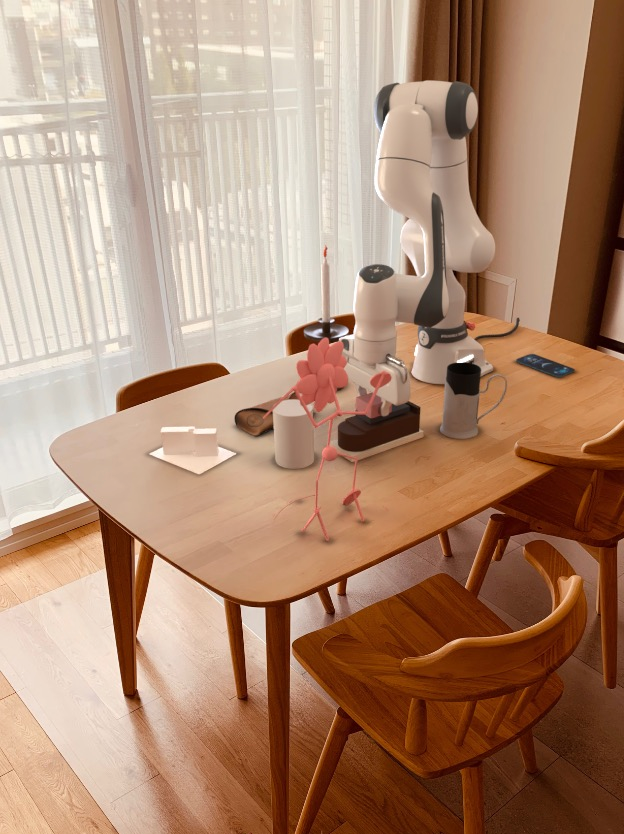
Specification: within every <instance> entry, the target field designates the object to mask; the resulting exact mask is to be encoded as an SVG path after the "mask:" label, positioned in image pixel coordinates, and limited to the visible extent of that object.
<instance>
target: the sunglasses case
mask: <svg viewBox="0 0 624 834" xmlns="http://www.w3.org/2000/svg"><path fill="white" fill-rule="evenodd" d="M282 397H283V396H280V397H277V398H274V399H271V400H268V401H265V402H262V403H259V404H257V405H254V406H251V407H247V408H242V409H240V410H238V411H237V412H236V413H235V414H234V423H235V426H236V428H239V429H240V430H241V431H243V432H244V433H247V434H249V435H252V436H256V437H257V436H260V435H261V434H264V433H266V432H268V431H273V430H274V424H273V410H272V411H271V412H270V413H269V414H268V415H267V416H266V417H265V418H264V419H263V416H264V415H265V414H266V413H267V412H268V411H269V410H270V409H271V408H272V407H273V406H274V405H275V404H276V403H277V402H278V401H279V400H280V399H281V398H282ZM292 399H295V400H299V399H298V397H297V395H296V393H295V392H294V391H293V392H291V393H290V394H289V395H288V396H287V397H286V398H285V399H284V400H292ZM284 400H283V401H284ZM315 414H316V411H313V415H315Z"/></svg>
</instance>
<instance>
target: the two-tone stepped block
mask: <svg viewBox="0 0 624 834" xmlns="http://www.w3.org/2000/svg"><path fill="white" fill-rule="evenodd" d="M372 395H373V393H372V392H369V393H368V392H367V394H365V395H362V396H359V395H358V396H356V397H355V410H354V411H357V412H365V410H366V408H367V406H368V404H369V401H370V399H371V397H372ZM382 404H383V402H382V401H381V397H379V396H377V395H375V398H374V400H373V402H372V404H371V406H370V408H369V410H368V412H366V415H356V416H358V417H359V418H361V419H363V420H364V421H366V422H368V423H369V424H372V423H375V422H378V421H381V420H384V419H387V418H390V417H393V416H396V415H399V414H403V413H406V412H409V411H410V406H409V405H407V404H405V403H404V404H401V405H394V404H391V406H390V407H389V414H388V415H387V416H382V415H380V414H379V413H378V411H379V410H378V409H379V407H380V406H382Z"/></svg>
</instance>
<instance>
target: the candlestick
mask: <svg viewBox="0 0 624 834" xmlns="http://www.w3.org/2000/svg"><path fill="white" fill-rule="evenodd" d="M327 253H328V246H327V244H325V247H324V249H323V253H322V254H323V257H324V258H323V262H322V263H320V267H321V272H320V273H321V314H322V315H321V317H320V318H318V319H317V322H319V323H313V324H310V325H308V326H305V327H304V329H303V336H304V337H305V339H307V340H309V341H313V342H316V343H319V342H320V341H321V340H322V339H323V338H325V337H326V338H328V339H329V343H336V342H339V338H341V337H344V336H348V335H350V333H349V328H348V327H347V326H346V325H343V324H339V323H334V322H335V319H334V318H333V317H331V295H330V292H331V291H330V290H331V289H330V284H331V283H330V281H331V280H330V263H328V259H327V256H328V254H327ZM344 389H345V387H341V388H338V387H337V391H336V393H337V392H340V391H342V390H344Z"/></svg>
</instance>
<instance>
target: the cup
mask: <svg viewBox="0 0 624 834" xmlns="http://www.w3.org/2000/svg"><path fill="white" fill-rule="evenodd" d="M306 406H307V408H308V410H309V412H310V414H311V415H312V417H313V418H314V414H313V412H314V406H313V404H312V403H310V404H308V405H306ZM273 424H274V429H273V440H274V456H275V463H276V464H277V465H278V466H279V467H281V468H284V469H289V470H299V469H304V468H307V467H309V466H311V465H313V463H314V461H315V443H314V442H315V441H314V440H315V437H314V426H313V424H312V422H311V420H310V418H309V417H308V415H307V413H306V411H305V410H304V408H303V406H301V404H300V401H299V400H295V399H292V400H284V401H282V402H281V403H280V404H278V405H277V406H276V407H275V408H274V409H273Z"/></svg>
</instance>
